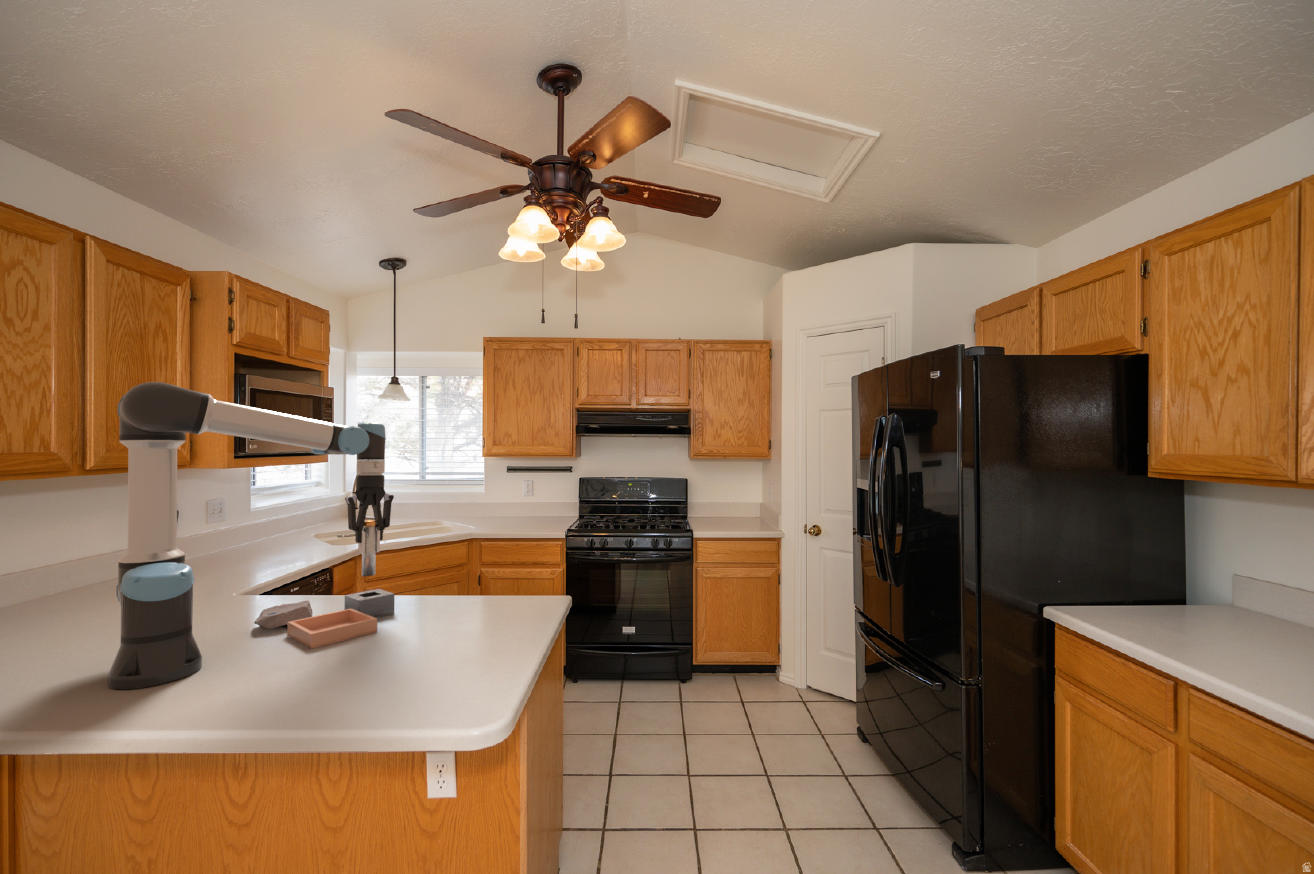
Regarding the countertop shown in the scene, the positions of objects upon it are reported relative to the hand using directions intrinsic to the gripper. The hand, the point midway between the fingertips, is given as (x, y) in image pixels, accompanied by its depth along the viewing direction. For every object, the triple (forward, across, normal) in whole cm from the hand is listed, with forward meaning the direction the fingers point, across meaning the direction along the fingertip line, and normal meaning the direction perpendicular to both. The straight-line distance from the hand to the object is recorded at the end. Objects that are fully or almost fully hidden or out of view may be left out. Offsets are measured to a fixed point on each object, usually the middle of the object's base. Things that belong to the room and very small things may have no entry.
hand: (368, 552), depth 164 cm
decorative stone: (+19, -20, +8) cm, 29 cm away
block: (+18, 0, 0) cm, 19 cm away
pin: (+7, 0, 0) cm, 7 cm away
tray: (+19, -14, -10) cm, 25 cm away
